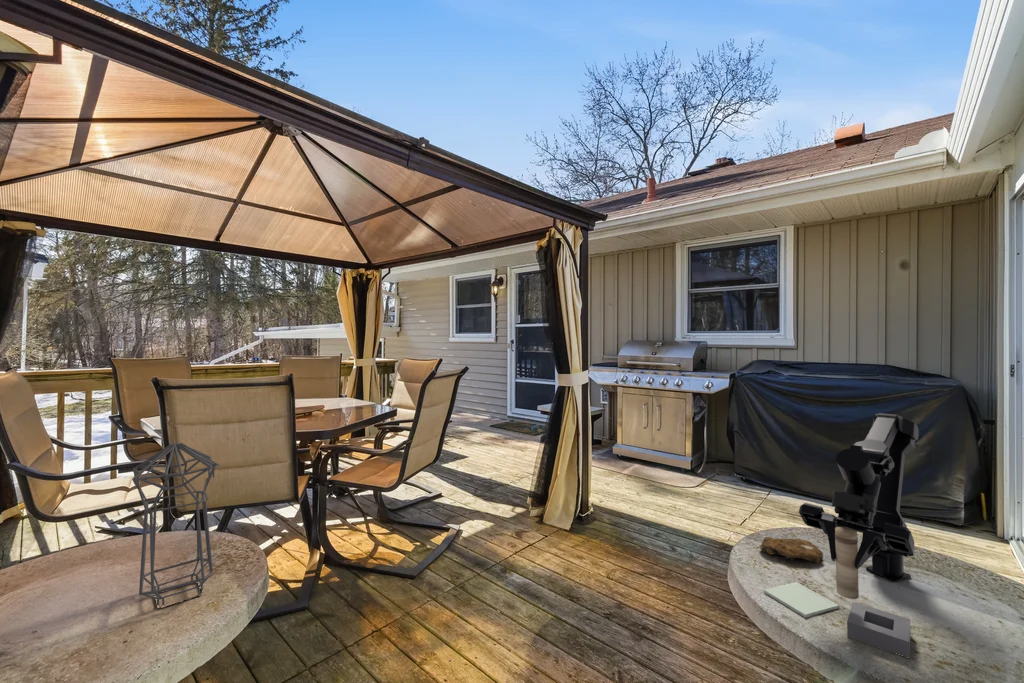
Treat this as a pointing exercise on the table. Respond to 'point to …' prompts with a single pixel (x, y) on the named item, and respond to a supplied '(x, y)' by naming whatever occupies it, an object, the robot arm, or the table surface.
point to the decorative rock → (792, 548)
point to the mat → (801, 599)
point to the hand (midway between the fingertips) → (844, 563)
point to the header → (879, 629)
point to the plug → (846, 562)
